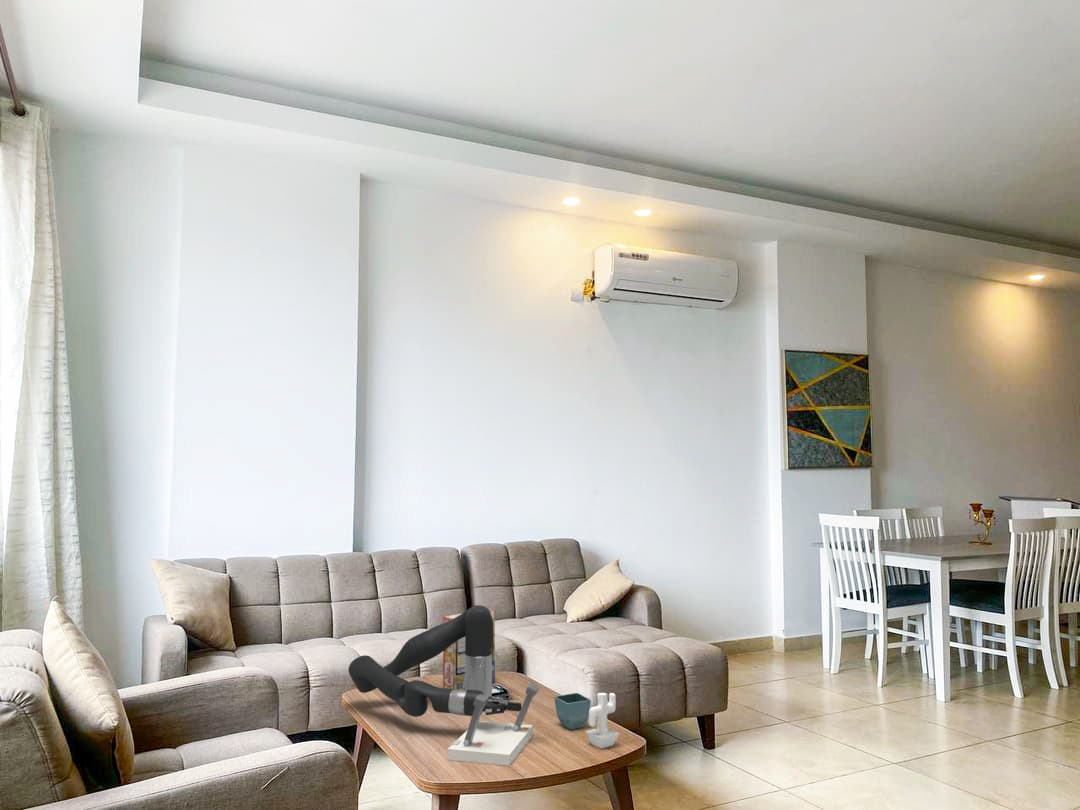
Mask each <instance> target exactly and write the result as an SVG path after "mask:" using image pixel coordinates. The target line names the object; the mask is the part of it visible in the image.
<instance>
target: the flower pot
mask: <svg viewBox="0 0 1080 810" xmlns="http://www.w3.org/2000/svg"><path fill="white" fill-rule="evenodd" d="M553 697H554V706H555V712H556V715H557V718H558V721H559V722H560V724H561V726H562V727H564V728H566V729H567V730H575V729H580V728H584V727H585V725H586V724H587V722H588V721H589V710H590V708H591V704H592V703H591V702H592V699H590V698H589V697H586V696H584V695H582V694H581V693H579V692H573V693H569V694H568V693H567V694H561V695H556V696H553Z"/></svg>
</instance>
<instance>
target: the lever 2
mask: <svg viewBox="0 0 1080 810" xmlns="http://www.w3.org/2000/svg"><path fill="white" fill-rule="evenodd" d="M539 690H540V686H539V685H536V684H534V683H532V682H531V683H530V684H529V685H528V686H527V687H526V689H525V692H524V693H525V694H526V695H525V698H524V701H523V703H522V704H521V710H520V711H519V713H518V715H517V718H516V720H515V722H514V724H515V725H514V727H513V730H514V731H518V730H519V729H520V727H521V726H522V724H523V723H524V720H525V717H526V715H527V713H528V710H529V708H530V706H531V702H532V701H533V698H535V696H536V695H537V694H538V692H539Z"/></svg>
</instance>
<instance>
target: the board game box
mask: <svg viewBox="0 0 1080 810" xmlns="http://www.w3.org/2000/svg"><path fill="white" fill-rule="evenodd" d="M489 611H490V613H491V616H492V621H493V635H492V685H493V684H496V650H495V649H496V639H495V638H496V633H495V632H496V630H495V627H496V624H495V622H496V621H495V619H496V618H495V617H496V615H495V613H496V611H495V610H492V609H489ZM460 614H461V613H459V614H458V613H457V614H451V615H446V616H443V620H442V624H443V623H446V622H448V621H450V620H452V619H454V618H456V617H457V616H459V615H460ZM442 653H443V654H442V655H443V657H442V660H443V662H442V663H443V664H442V670H443V671H442V672H443V673H442V676H443V677H442V678H443V679H442V682H443V683H442V685H443V689H465V637H463V638H461V639H459V640H458V641H456V642H455V643H453V644H452V645H451V646H449V647H448V648H447V649H446V650H444V651H443V652H442Z"/></svg>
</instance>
